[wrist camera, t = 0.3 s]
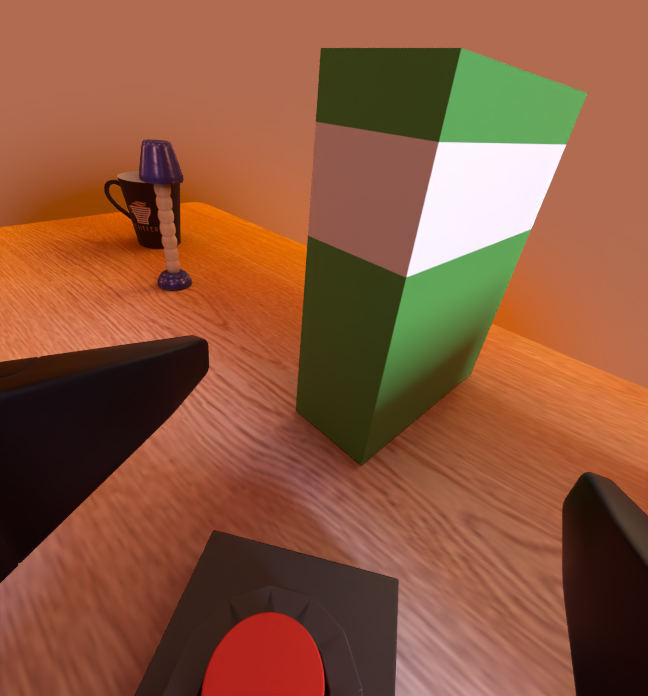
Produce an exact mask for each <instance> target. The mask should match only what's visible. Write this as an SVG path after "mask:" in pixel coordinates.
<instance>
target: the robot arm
mask: <svg viewBox="0 0 648 696" xmlns="http://www.w3.org/2000/svg"><path fill="white" fill-rule="evenodd" d="M208 369H209V351H208V343H207V341H206V340H205V339H203V338H200V337H197V336H193V335H190V336H183V337H176V338H169V339H162V340H154V341H147V342H140V343H133V344H126V345H119V346H112V347H105V348H98V349H90V350H83V351H76V352H69V353H62V354H55V355H48V356H41V357H39V358H38V357H33V358H26V359H19V360H11V361H3V362H0V583H1V582H2V581H3V580H4V579H5V578H6V577H7V576H8V575H9V574H10V573H11V572H12V571H13V570H14V569H15V568H16V567H17V566H18V563H21V562H22V561H23V560H24V559H25V558H26V557H27V556H28V555H29V554H30V553H31V552H32V551H33V550H34V549H35V548H36V547H37V546H38V545H39V544H40V543H41V542H42V541H44V540H45V539H46V538H47V537H48V536H49V535H50V534H51V533H52V532H53V531H54V530H55V529H56V528H57V527H58V526H59V525H60V524H61V523H62V522H63V521H64V520H65V519H66V518H67V517H68V516H69V515H70V514H71V513H72V512H73V511H74V510H75V509H76V508H77V507H78V506H79V505H80V504H81V503H82V502H83V501H84V500H86V499H87V498H88V497H89V496H90V495H91V494H92V493H93V492H94V491H95V490H96V489H97V488H98V487H99V486H100V485H101V484H102V483H103V482H104V481H105V480H106V479H107V478H108V477H109V476H110V475H111V474H112V473H113V472H114V471H115V470H116V469H117V468H118V467H119V466H120V465H121V464H122V463H123V462H124V461H125V460H126V459H128V458H129V457H130V456H131V455H132V454H133V453H134V452H135V451H136V450H137V449H138V448H139V447H140V446H141V445H142V444H143V443H144V442H145V441H146V440H147V439H148V438H149V437H150V436H151V435H152V434H153V433H154V432H155V431H156V430H157V429H158V428H159V427H160V426H161V425H162V424H163V423H164V422H165V421H166V420H167V419H168V418H169V417H170V416H171V415H172V414H173V413H174V412H175V411H176V410H177V408H178V407H179V406H180V405H181V404H182V403H183V401H184V400H185V399H186V398H187V397H188V395H189V394H190V393H191V392H192V391H193V389H194V388H195V387H196V386H197V385H198V383H199V382H200V381H201V380H202V379H203V377H204V376H205V375H206V373H207V372H208ZM562 575H563V591H564V601H565V609H566V617H567V625H568V633H569V641H570V649H571V657H572V665H573V674H574V682H575V690H576V696H648V516H647V515H646V514H645V513H644V512H643V511H642V510H641V509H640V508H639V507H638V506H637V505H636V504H635V503H634V502H633V501H632V500H631V499H630V498H629V497H628V496H627V495H626V494H625V493H624V492H623V491H622V490H621V489H620V488H619V487H618V486H617V485H616V484H615V483H614V482H613V481H612V480H610V479H608V478H605V477H602V476H600V475H597V474H594V473H591V472H586V473H583V474H582V475H581V476H580V478H579V479H578V480H577V482H576V483H575V485H574V486H573V488H572V489H571V491H570V492H569V494H568V495H567V497H566V498H565V501H564V503H563V508H562Z"/></svg>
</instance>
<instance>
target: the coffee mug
mask: <svg viewBox="0 0 648 696" xmlns="http://www.w3.org/2000/svg"><path fill="white" fill-rule="evenodd" d="M117 177H118V180H119V181H117V180H110V181H108V182H106V184H105V186H104V187H105V188H104V189H105V194H106V196H107V198H108V199H109V201H110V202H111V203H112V204H113V205H114V206H115V207H116V208H117V209H118V210H120V211H121V212H122V213H123V214H125V215H126V216H127V217H129V218H130V219H131V220H132V223H133V226H134V229H135V232H136V235H137V238H138V241H139V244H140V245H142V246H144V247H147V248H157V249H159V248H164V246H163V244H162V236H163V235H162V234H161V232H160V223H161V222H160V220H159V218H158V210H159V209H158V207H157V205H156V197H157V195H156V193H155V191H154V184H152V183H146V182H143V181H141V180H140V179H139V171H135V172H126V173H121V174H119V175H118V176H117ZM111 184H117V185H119V186H120V187H121V189H122V192H123V195H124V198H125V201H126V204H127V207H128V210H129V213H128V212H127V211H126V210H124V209H123V208H121V207H120V206H119V205H118V204H117V203H116V202H115V201H114V200H113V199H112V197H111V196H110V193H109V187H110V185H111ZM170 188H171V194H170V197H171V199H172V209H171V210H172V211H173V214H174V221H173V223H174V225H175V228H176V233H175V236H176V238H177V245H178V244H180V242H181V241H180V184H170Z"/></svg>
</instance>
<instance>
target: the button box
mask: <svg viewBox="0 0 648 696" xmlns="http://www.w3.org/2000/svg"><path fill="white" fill-rule="evenodd" d="M398 584H399V581H398V579H396V578H392V577H389V576H385V575H381V574H377V573H374V572H370V571H366V570H362V569H359V568H355V567H351V566H347V565H344V564H340V563H336V562H332V561H329V560H325V559H321V558H317V557H314V556H310V555H306V554H302V553H299V552H295V551H291V550H287V549H284V548H280V547H276V546H272V545H269V544H265V543H261V542H257V541H254V540H250V539H246V538H242V537H239V536H235V535H231V534H227V533H224V532H220V531H216V530H214V531H213V532H212V534H211V536H210V538H209V540H208V543H207V545H206V547H205V549H204V551H203V553H202V555H201V557H200V559H199V561H198V563H197V566H196V568H195V570H194V572H193V574H192V576H191V578H190V580H189V582H188V584H187V587H186V589H185V591H184V593H183V595H182V597H181V599H180V601H179V603H178V605H177V608H176V610H175V612H174V614H173V616H172V618H171V620H170V622H169V624H168V626H167V629H166V631H165V633H164V635H163V637H162V639H161V641H160V643H159V645H158V647H157V649H156V652H155V654H154V656H153V658H152V660H151V662H150V664H149V666H148V668H147V670H146V673H145V675H144V677H143V679H142V681H141V683H140V685H139V687H138V689H137V691H136V694H135V696H201V693H202V685H203V680H204V676H205V672H206V669H207V666H208V664H209V661H210V659H211V657H212V655H213V653H214V651H215V649H216V647H217V646H218V644H219V643H220V641H221V640H222V639H223V637H224V636H225V635H226V634H227V633H228V632H229V631H230V630H231V629H232V628H233V627H234V626H235V625H237V624H238V623H239V622H241V621H242V620H244V619H246V618H248V617H250V616H253V615H255V614H259V613H266V612H274V613H280V614H284V615H286V616H289V617H291V618H293V619H294V620H296V621H297V622H299V623H300V624H301V625H302V626H303V627H304V628H305V629H306V630H307V631H308V633H309V634H310V635H311V637H312V639H313V640H314V642H315V644H316V646H317V648H318V651H319V654H320V657H321V660H322V665H323V670H324V696H395V678H396V647H397V615H398Z"/></svg>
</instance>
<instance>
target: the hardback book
mask: <svg viewBox="0 0 648 696" xmlns="http://www.w3.org/2000/svg"><path fill="white" fill-rule="evenodd" d="M586 96H587V93H585V92H582V91H580V90H577V89H574V88H571V87H569V86H566V85H563V84H560V83H557V82H555V81H552V80H549V79H546V78H543V77H541V76H538V75H535V74H532V73H530V72H527V71H524V70H521V69H518V68H515V67H513V66H510V65H507V64H504V63H502V62H499V61H496V60H493V59H490V58H487V57H485V56H482V55H479V54H476V53H474V52H471V51H468V50H465V49H462V48H321V56H320V70H319V84H318V99H317V100H318V101H317V113H316V128H315V143H314V157H313V171H312V186H311V201H310V215H309V230H308V244H307V258H306V273H305V287H304V302H303V316H302V331H301V345H300V360H299V374H298V389H297V403H296V411H297V412H299V413H300V414H301V415H302V416H303V417H305V418H306V419H307V420H308V421H309V422H310V423H312V424H313V425H314V426H315V427H316V428H317V429H319V430H320V431H321V432H322V433H323V434H325V435H326V436H327V437H328V438H329V439H330V440H332V441H333V442H334V443H335V444H336V445H337V446H339V447H340V448H341V449H342V450H343V451H345V452H346V453H347V454H348V455H349V456H350V457H352V458H353V459H354V460H355V461H356V462H358V463H359V464H360V465H363V464H364V463H365V462H366V461H367V460H369V459H370V458H371V457H372V456H373V455H375V454H376V453H377V452H378V451H379V450H381V449H382V448H383V447H384V446H385V445H386V444H388V443H389V442H390V441H391V440H392V439H394V438H395V437H396V436H397V435H398V434H400V433H401V432H402V431H403V430H404V429H406V428H407V427H408V426H409V425H410V424H412V423H413V422H414V421H415V420H416V419H418V418H419V417H420V416H421V415H422V414H423V413H425V412H426V411H427V410H428V409H429V408H431V407H432V406H433V405H434V404H435V403H437V402H438V401H439V400H440V399H441V398H443V397H444V396H445V395H446V394H447V393H449V392H450V391H451V390H452V389H453V388H455V387H456V386H457V385H458V384H459V383H460V382H462V381H463V380H464V379H465V378H466V377H468V376H469V375H470V374H471V372H472V370H473V367H474V365H475V362H476V360H477V358H478V355H479V353H480V350H481V348H482V346H483V343H484V341H485V338H486V336H487V334H488V331H489V329H490V326H491V324H492V322H493V319H494V317H495V314H496V312H497V310H498V307H499V305H500V302H501V300H502V298H503V295H504V293H505V290H506V288H507V285H508V283H509V280H510V278H511V276H512V274H513V271H514V269H515V266H516V264H517V261H518V259H519V257H520V254H521V252H522V250H523V247H524V245H525V242H526V240H527V238H528V235H529V233H530V230H531V228H532V226H533V223H534V221H535V218H536V216H537V213H538V211H539V209H540V206H541V204H542V202H543V199H544V197H545V194H546V192H547V190H548V187H549V185H550V182H551V180H552V178H553V175H554V173H555V170H556V168H557V166H558V163H559V161H560V158H561V156H562V153H563V151H564V149H565V146H566V144H567V142H568V139H569V137H570V134H571V132H572V130H573V127H574V125H575V122H576V120H577V117H578V115H579V113H580V110H581V108H582V105H583V103H584V101H585V98H586Z"/></svg>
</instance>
